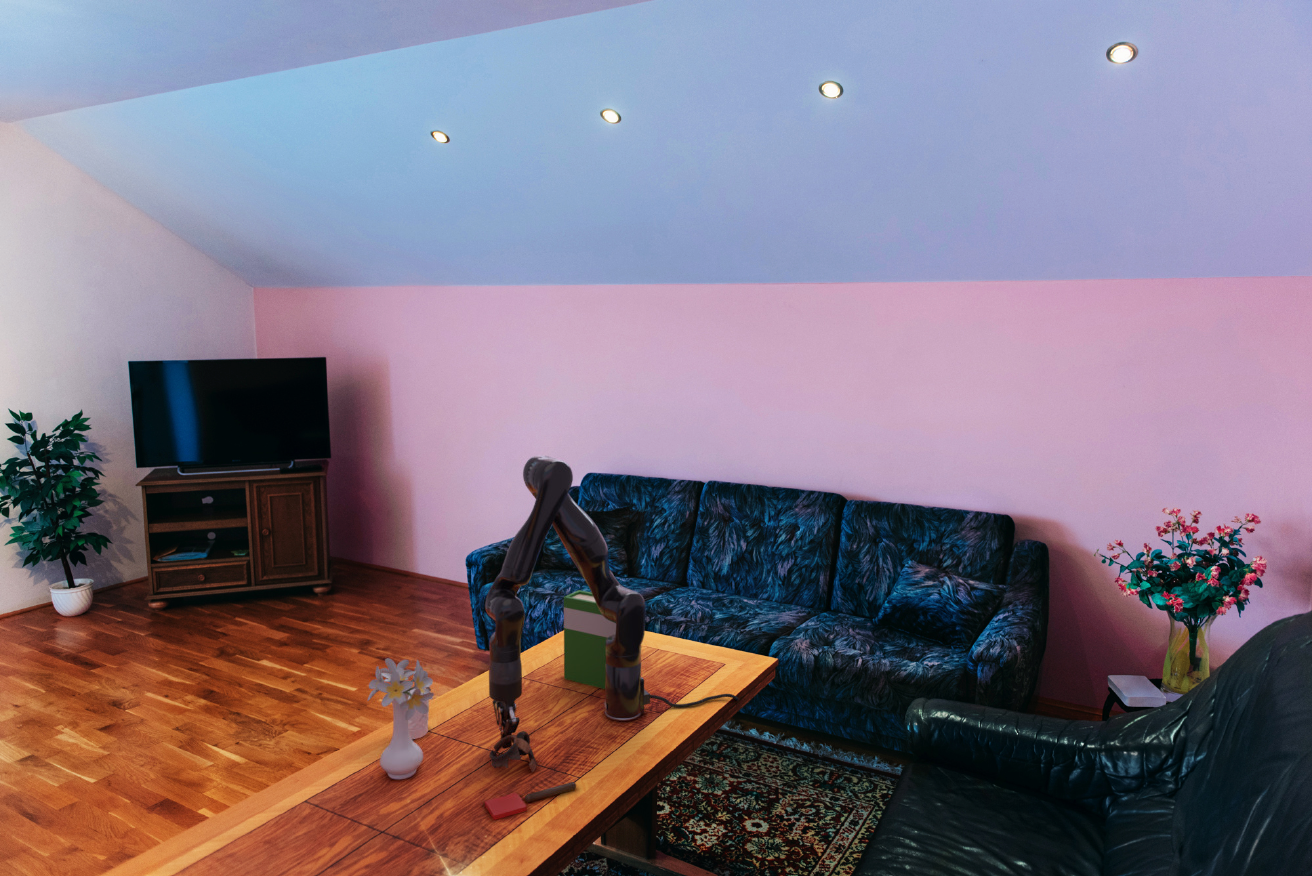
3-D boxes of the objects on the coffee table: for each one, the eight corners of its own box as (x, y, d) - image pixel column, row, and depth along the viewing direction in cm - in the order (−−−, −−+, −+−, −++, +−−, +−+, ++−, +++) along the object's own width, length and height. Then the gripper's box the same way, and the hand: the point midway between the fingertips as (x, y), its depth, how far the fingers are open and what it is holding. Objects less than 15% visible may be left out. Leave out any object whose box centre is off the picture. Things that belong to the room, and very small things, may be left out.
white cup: (436, 728, 208) (435, 690, 206) (417, 743, 200) (416, 703, 199) (409, 723, 210) (408, 685, 209) (389, 737, 203) (388, 698, 201)
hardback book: (630, 682, 236) (631, 600, 233) (616, 692, 229) (616, 607, 226) (579, 669, 244) (578, 590, 241) (564, 678, 238) (563, 597, 235)
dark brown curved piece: (533, 781, 184) (514, 754, 182) (499, 793, 187) (479, 766, 185) (548, 743, 195) (529, 716, 193) (515, 754, 198) (496, 728, 196)
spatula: (570, 782, 183) (570, 775, 183) (581, 795, 178) (581, 788, 178) (484, 805, 174) (484, 798, 174) (493, 820, 169) (493, 812, 169)
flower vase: (403, 800, 176) (400, 686, 173) (356, 770, 188) (352, 663, 184) (454, 775, 186) (452, 667, 183) (406, 748, 197) (403, 647, 194)
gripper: (530, 683, 190) (531, 755, 192) (511, 663, 201) (512, 731, 204) (498, 690, 186) (499, 763, 188) (481, 668, 198) (482, 738, 200)
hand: (506, 746), depth 196 cm, fingers closed
